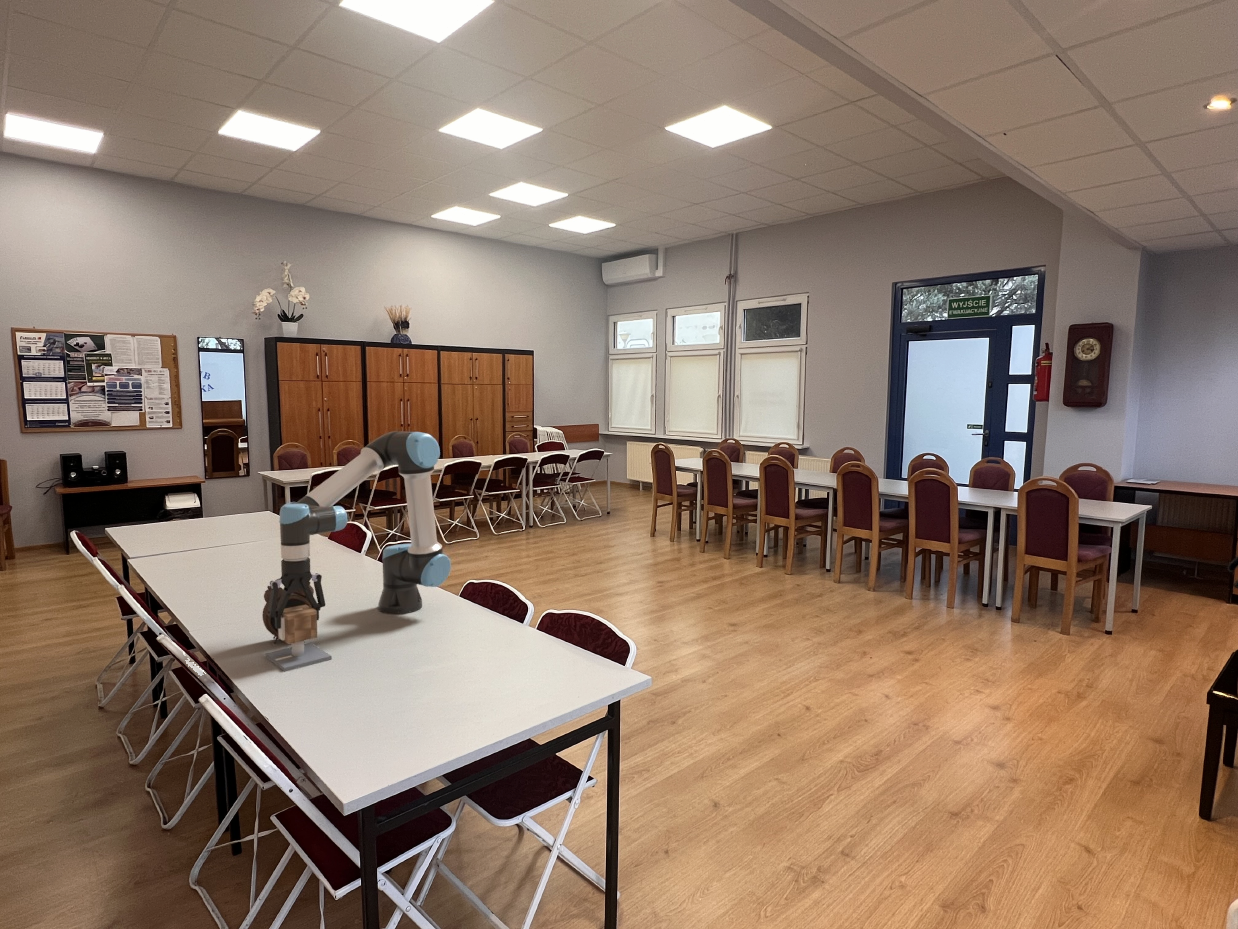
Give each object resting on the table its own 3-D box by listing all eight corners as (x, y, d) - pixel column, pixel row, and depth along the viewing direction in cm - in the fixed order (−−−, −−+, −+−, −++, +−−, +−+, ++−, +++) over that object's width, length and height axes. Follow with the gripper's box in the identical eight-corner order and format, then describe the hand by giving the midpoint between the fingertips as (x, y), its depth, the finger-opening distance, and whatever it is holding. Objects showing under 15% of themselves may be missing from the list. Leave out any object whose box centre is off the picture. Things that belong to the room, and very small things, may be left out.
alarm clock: (266, 648, 205) (264, 583, 203) (262, 641, 211) (260, 577, 209) (317, 638, 214) (316, 576, 212) (312, 632, 219) (311, 571, 218)
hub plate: (310, 645, 207) (310, 626, 207) (331, 659, 197) (331, 639, 197) (265, 656, 198) (264, 636, 198) (284, 671, 188) (284, 650, 187)
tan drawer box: (306, 630, 203) (305, 603, 202) (317, 637, 197) (316, 609, 196) (278, 637, 197) (277, 609, 196) (288, 644, 191) (287, 615, 191)
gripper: (326, 550, 205) (328, 624, 207) (251, 561, 190) (254, 640, 192) (337, 554, 200) (339, 630, 202) (261, 566, 185) (263, 647, 187)
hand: (297, 635), depth 197 cm, fingers closed on tan drawer box, 8 cm apart
